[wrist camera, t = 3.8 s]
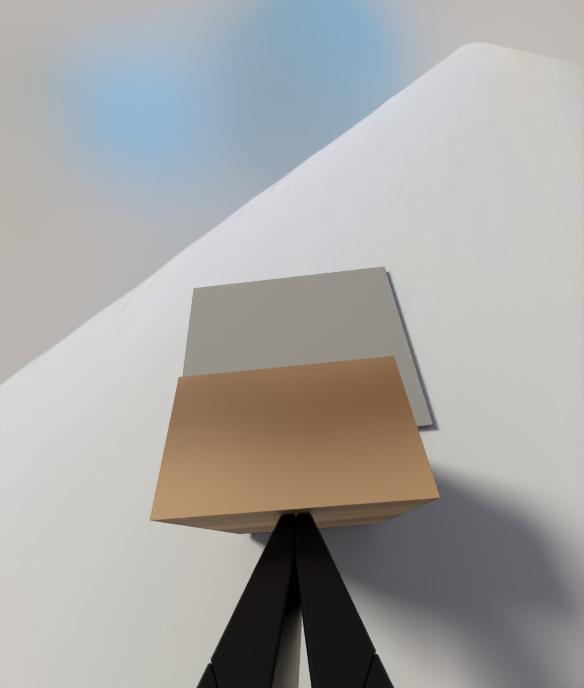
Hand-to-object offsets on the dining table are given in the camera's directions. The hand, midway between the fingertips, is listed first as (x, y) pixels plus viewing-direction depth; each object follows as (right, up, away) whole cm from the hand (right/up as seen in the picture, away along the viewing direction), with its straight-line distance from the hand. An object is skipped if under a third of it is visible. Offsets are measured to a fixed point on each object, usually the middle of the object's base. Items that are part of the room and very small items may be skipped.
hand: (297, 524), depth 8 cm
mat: (0, +5, +12) cm, 13 cm away
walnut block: (+1, -2, +7) cm, 8 cm away
